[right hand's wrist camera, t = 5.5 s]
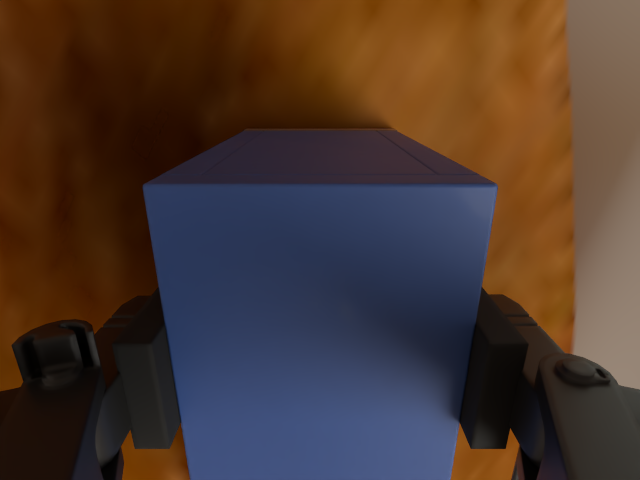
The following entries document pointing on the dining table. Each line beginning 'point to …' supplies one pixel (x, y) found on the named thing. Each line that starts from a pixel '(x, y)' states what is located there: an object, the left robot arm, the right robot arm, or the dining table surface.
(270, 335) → the cabinet
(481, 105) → the dining table surface
